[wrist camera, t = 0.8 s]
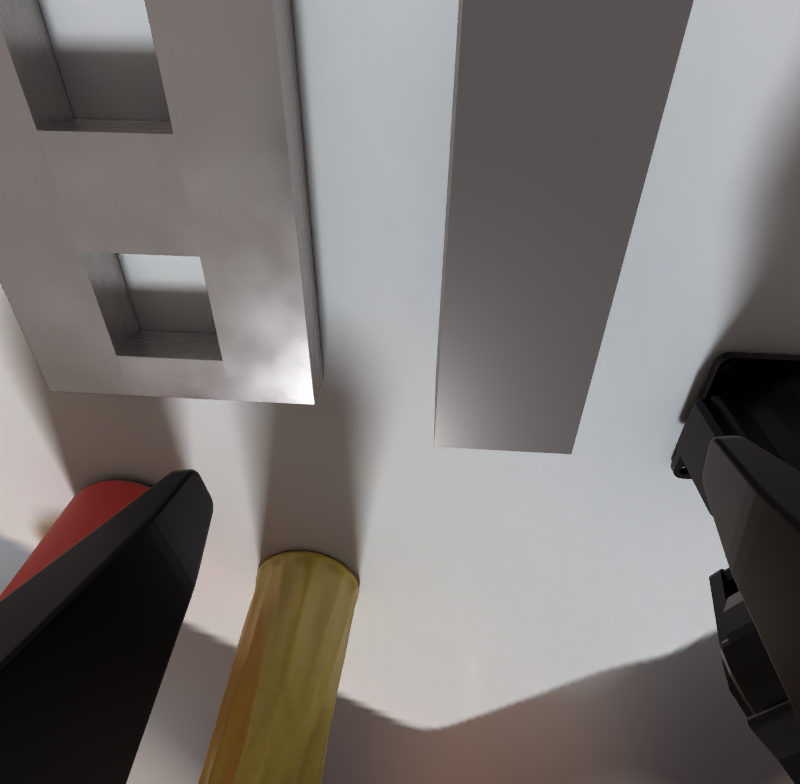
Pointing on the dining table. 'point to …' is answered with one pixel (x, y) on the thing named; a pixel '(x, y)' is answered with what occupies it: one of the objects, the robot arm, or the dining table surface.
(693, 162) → the dining table surface
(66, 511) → the beer can
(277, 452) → the dining table surface
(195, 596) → the dining table surface
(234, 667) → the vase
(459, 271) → the grey rectangular block
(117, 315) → the mount plate
